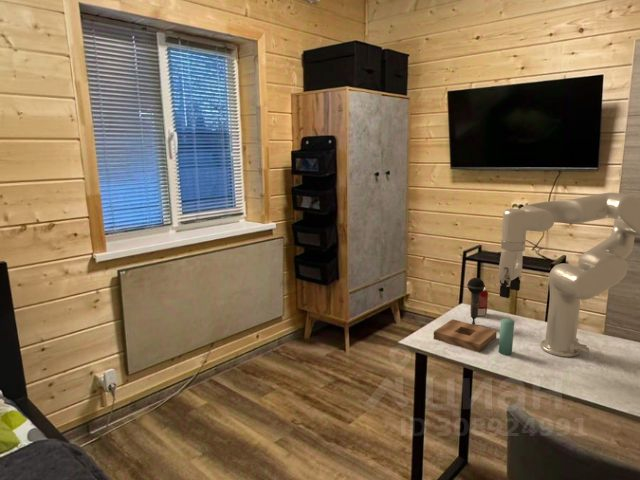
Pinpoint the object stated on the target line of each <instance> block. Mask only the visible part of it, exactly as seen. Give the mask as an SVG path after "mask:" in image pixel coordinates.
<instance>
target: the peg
mask: <svg viewBox="0 0 640 480" xmlns="http://www.w3.org/2000/svg"><path fill="white" fill-rule="evenodd" d="M499 330H500V331H499V340H498V353H499V354H500V355H503V356H511V355H512V354H513V346H514V345H513V344H514V331H515V321H514V320H513V319H511V318H501V319H500V329H499Z"/></svg>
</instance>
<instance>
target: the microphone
mask: <svg viewBox="0 0 640 480" xmlns="http://www.w3.org/2000/svg"><path fill="white" fill-rule="evenodd" d="M466 286H467V290H468V291H469V292H470V296H471V297H470V308H471V313H470V318H471V319H472V322H471V324H473V325H476V322H475V321H476V320H475V319H477V318H478V317H477V315H478V305H479V295H480V293H481V292H482V291H483V290H484V288H486V285H485V282H484V280H483V279H481V278H480V277H473V278H471V279H469V281H468V282H467V285H466Z"/></svg>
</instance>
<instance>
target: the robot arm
mask: <svg viewBox="0 0 640 480" xmlns="http://www.w3.org/2000/svg"><path fill="white" fill-rule="evenodd" d="M604 219H614V220H613V227H612V231H611V234H610V235H609V237H608V238H606V239H605V240H603V241H602V242H600V243H598V244H597V245H595V246H593V247H591V248H590V249H588V250H587V251H585V252H584V253H582V254H581V255H580V256H579V258H578V260H577V265H578V266H575V265H573V264H570V263H565V262H564V263H557V264H556V265H554V266H553V267H552V268H551V270H550V272H549V275H548V284H549V301H548V302H549V304H548V310H547V311H548V313H547V323H546V333H545V339H543V340H542V341H541V342H540V344H539V346H540V349H542V350H543V351H545V352H547V353H549V354H551V355H554V356H558V357H565V358H567V357H568V358H569V357H577V356H578V355H579V354H580V352H582V353H585V354H589V352H590V347H588V345H586V344H585V343H580V342H579V338H577V333H578V325H579V316H580V309H581V302H580V301H581V300H582V301H585V300H590V299H593V298H595V297H597V296H599V295H601V294H602V293H604V292H605V291H607V290H609V289H610V288H612V287H614V286H616V284H618V283H620V282H621V281H622V280H623V279H624V278H625V277H626V275H627V274H628V273H627V272H628V268H629V267H628V262H627V261H626V260H625V259H626V258H627V257H629V256H630V255H631V253H632V251H633V249H634V243H635V237H637V238H640V199H638V198H637V197H635V196H633V195H631V194H624V193H619V192H618V193H617V192H603V193H599V194H594V195H590V196H589V195H587V196H584V197H577V198H570V199H560V200H550V201H548V200H547V201H541V202H536V203H529V204H526V205H524V206H522V207H520V208H507V209H505V210H504V211H503V213H502V224H501V225H502V226H501V228H502V229H501V239H500V242H501V243H500V250H501V253H500V258H499V266H498V275H497V276H498V279H499V282H500V283H499V297H501V298H505V299H509V298H510V295H511V290H513V291H520V289H521V274H522V272H523V271H522V270H523V255H524V254H523V252H525V250H526V239H527V238H526V237H527V231H529V232H531V231H532V232H538V233H539V232H546V231H549V230H550V229H551V228H553V226H554V225H555V223H564V224H584V223H588V222H593V221H599V220H604Z"/></svg>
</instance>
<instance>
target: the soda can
mask: <svg viewBox="0 0 640 480" xmlns="http://www.w3.org/2000/svg"><path fill="white" fill-rule="evenodd" d="M488 297H489V291H488V289H487V288H486V287H485V288H484V290H483V291H482V292H481V293H480V295H479V305H478V315H477V318H478V317H480V318H483V317H485V316H487V314H488ZM469 308H470V309H469V310H470V311H469V312H470V314H471V307H469Z"/></svg>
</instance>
